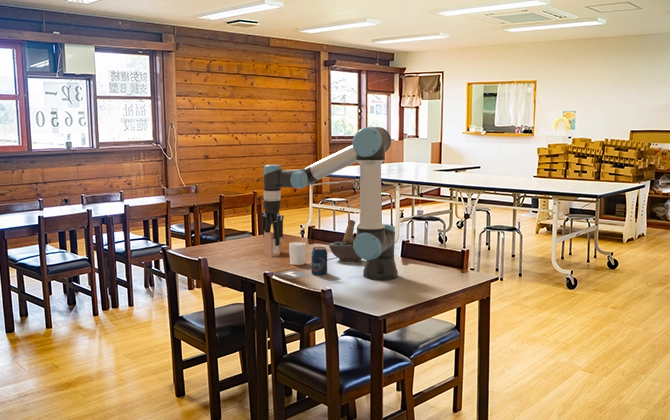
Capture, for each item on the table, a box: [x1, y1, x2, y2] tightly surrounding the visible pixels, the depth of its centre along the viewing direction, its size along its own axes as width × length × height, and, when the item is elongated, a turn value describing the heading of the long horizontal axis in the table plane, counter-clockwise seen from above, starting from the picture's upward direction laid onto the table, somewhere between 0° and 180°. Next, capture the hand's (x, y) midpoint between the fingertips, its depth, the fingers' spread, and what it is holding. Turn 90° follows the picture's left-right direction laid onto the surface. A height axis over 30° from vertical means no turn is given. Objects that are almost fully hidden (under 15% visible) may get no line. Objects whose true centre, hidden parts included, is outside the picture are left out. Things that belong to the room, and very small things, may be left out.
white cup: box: [288, 241, 307, 266], centre depth 294 cm, size 8×8×10 cm
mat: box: [273, 269, 308, 280], centre depth 273 cm, size 12×11×1 cm
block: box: [263, 230, 281, 257], centre depth 278 cm, size 5×5×10 cm
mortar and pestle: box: [328, 219, 363, 262], centre depth 304 cm, size 15×17×20 cm
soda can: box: [310, 246, 328, 276], centre depth 274 cm, size 7×7×12 cm
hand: (271, 251), depth 279 cm, fingers closed on block, 5 cm apart
